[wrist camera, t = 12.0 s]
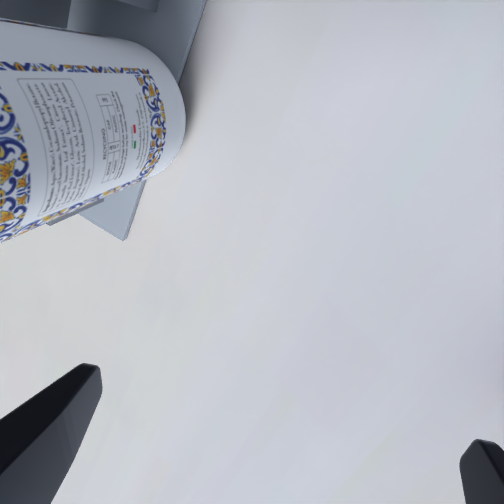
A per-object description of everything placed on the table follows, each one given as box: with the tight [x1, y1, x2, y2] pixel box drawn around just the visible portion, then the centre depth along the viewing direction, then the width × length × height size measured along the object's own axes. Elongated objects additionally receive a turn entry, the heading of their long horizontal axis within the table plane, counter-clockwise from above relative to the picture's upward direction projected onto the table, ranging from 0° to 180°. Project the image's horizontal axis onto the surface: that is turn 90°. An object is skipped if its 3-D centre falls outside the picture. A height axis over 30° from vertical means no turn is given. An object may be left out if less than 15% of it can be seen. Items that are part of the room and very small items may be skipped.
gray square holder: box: [0, 0, 206, 241], centre depth 18 cm, size 11×16×5 cm
